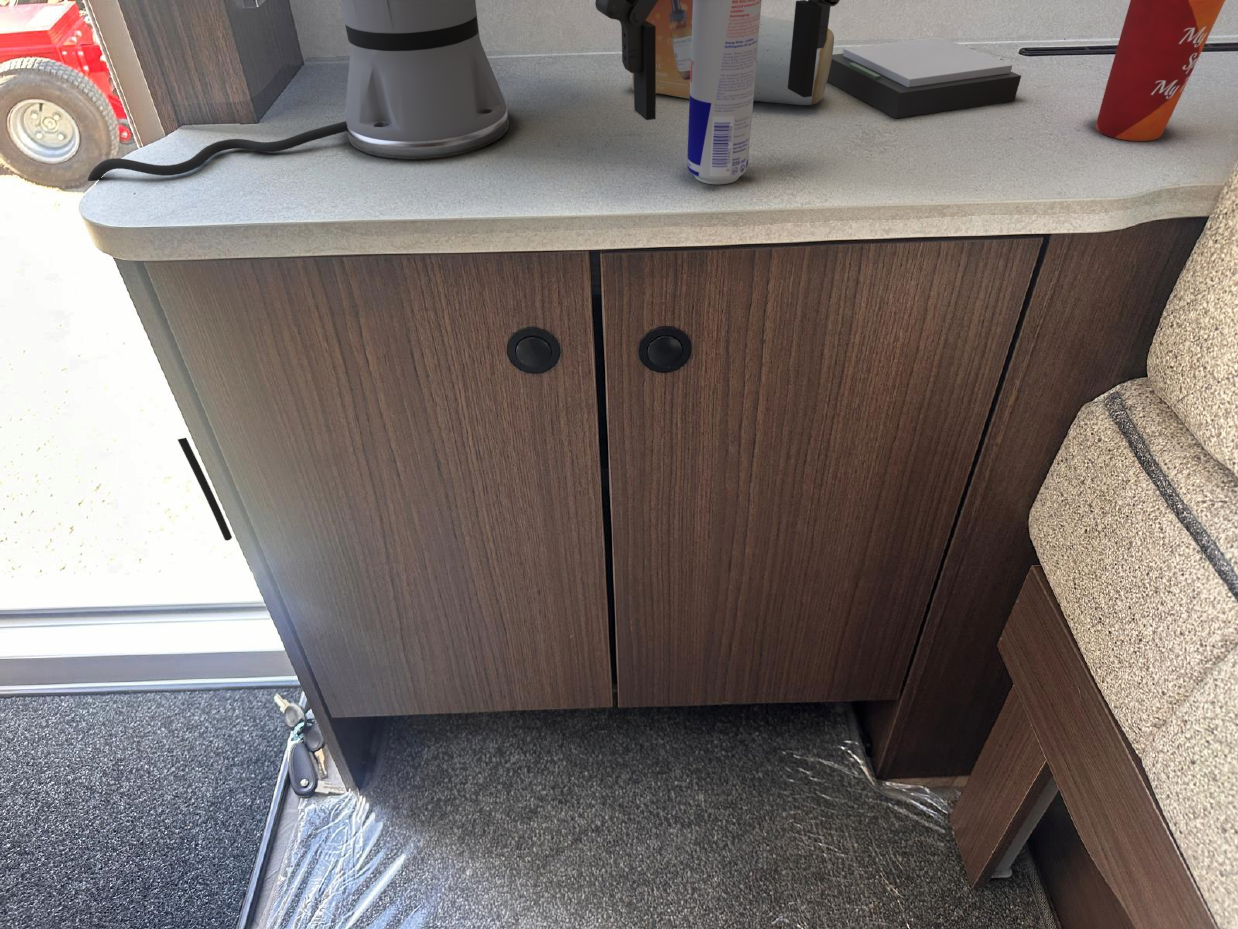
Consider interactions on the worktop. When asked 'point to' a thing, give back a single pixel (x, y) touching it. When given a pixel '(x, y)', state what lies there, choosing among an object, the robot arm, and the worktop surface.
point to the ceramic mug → (785, 64)
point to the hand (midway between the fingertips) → (724, 103)
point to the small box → (672, 46)
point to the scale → (922, 76)
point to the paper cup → (1153, 65)
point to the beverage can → (722, 88)
